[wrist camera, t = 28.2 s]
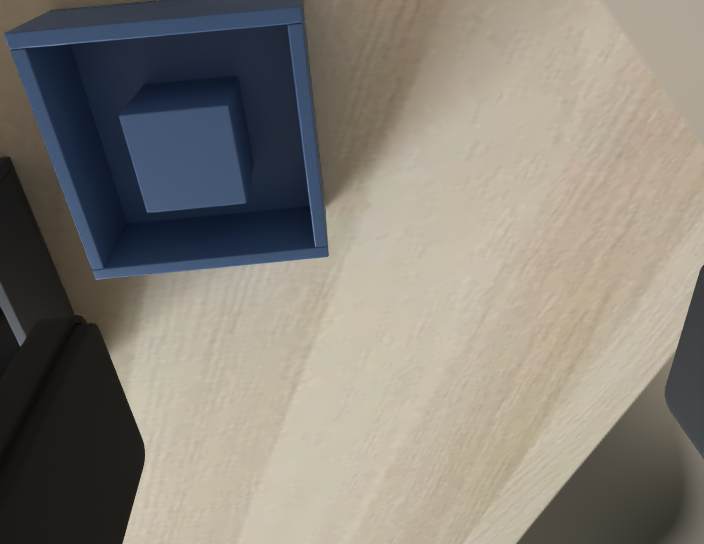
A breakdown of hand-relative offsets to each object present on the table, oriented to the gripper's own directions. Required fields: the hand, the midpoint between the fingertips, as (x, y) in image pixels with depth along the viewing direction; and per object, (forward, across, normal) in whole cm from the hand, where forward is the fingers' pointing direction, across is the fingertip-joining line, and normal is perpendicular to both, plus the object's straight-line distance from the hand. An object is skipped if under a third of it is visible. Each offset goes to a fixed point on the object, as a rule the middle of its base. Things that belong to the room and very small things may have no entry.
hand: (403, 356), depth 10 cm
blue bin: (+22, +7, +3) cm, 23 cm away
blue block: (+22, +7, +3) cm, 23 cm away
